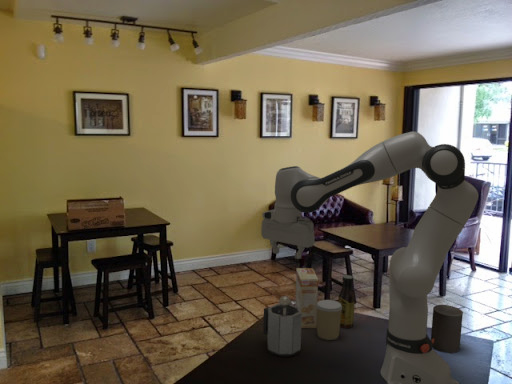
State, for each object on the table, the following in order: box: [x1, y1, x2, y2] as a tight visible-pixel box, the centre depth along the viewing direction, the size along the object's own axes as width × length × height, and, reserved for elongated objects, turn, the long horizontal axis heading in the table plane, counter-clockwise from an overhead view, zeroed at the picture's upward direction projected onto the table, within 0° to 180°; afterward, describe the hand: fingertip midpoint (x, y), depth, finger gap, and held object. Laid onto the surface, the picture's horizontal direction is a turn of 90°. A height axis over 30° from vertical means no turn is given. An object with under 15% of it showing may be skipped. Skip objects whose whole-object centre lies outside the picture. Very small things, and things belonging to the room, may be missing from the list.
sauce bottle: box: [337, 274, 356, 329], centre depth 174 cm, size 7×6×20 cm
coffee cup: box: [316, 299, 342, 341], centre depth 165 cm, size 9×9×12 cm
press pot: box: [262, 303, 302, 358], centre depth 155 cm, size 14×11×14 cm
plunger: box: [278, 295, 292, 315], centre depth 153 cm, size 8×8×14 cm
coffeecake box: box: [294, 267, 319, 329], centre depth 178 cm, size 15×7×20 cm, turn 1°
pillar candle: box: [430, 304, 464, 354], centre depth 157 cm, size 10×10×15 cm
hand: (286, 255), depth 151 cm, fingers open, 8 cm apart
